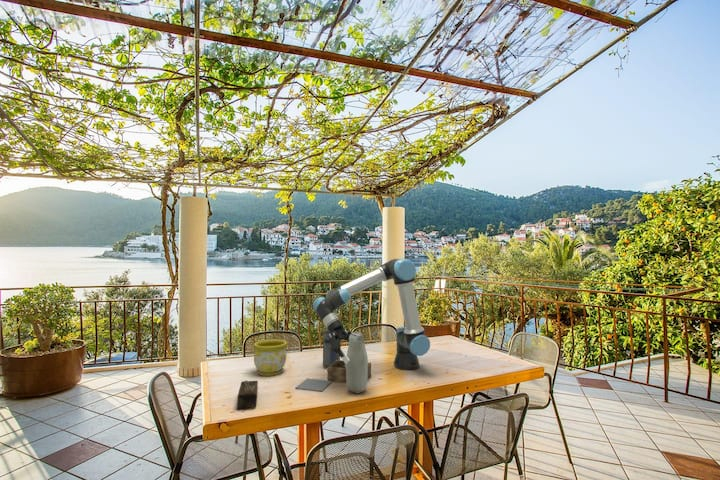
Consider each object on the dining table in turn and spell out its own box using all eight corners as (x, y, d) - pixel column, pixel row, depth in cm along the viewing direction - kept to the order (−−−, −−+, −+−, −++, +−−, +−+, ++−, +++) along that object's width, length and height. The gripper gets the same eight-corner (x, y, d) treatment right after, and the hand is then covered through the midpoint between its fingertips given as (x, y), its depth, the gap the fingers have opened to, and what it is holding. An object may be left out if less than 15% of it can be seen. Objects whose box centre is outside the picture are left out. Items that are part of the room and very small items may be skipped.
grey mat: (332, 382, 181) (332, 380, 181) (321, 391, 167) (321, 390, 167) (307, 379, 184) (307, 378, 184) (295, 388, 171) (295, 387, 171)
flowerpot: (254, 368, 203) (255, 340, 204) (286, 366, 207) (286, 338, 208) (251, 378, 186) (252, 347, 186) (286, 376, 189) (286, 345, 190)
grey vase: (371, 391, 168) (371, 332, 170) (357, 397, 160) (357, 335, 162) (355, 386, 175) (356, 329, 176) (341, 392, 167) (342, 332, 169)
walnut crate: (371, 375, 190) (371, 362, 191) (364, 384, 177) (364, 370, 177) (336, 372, 196) (336, 359, 196) (327, 380, 182) (327, 367, 183)
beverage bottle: (337, 362, 215) (337, 321, 217) (341, 369, 202) (342, 325, 204) (320, 363, 212) (321, 322, 214) (324, 370, 200) (324, 326, 201)
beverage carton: (258, 392, 167) (258, 378, 167) (256, 409, 148) (256, 393, 149) (240, 394, 165) (240, 379, 165) (236, 411, 146) (237, 395, 147)
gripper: (344, 325, 189) (366, 357, 179) (312, 332, 169) (335, 370, 159) (352, 316, 186) (375, 349, 177) (320, 322, 166) (344, 360, 157)
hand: (356, 359), depth 168 cm, fingers open, 13 cm apart
